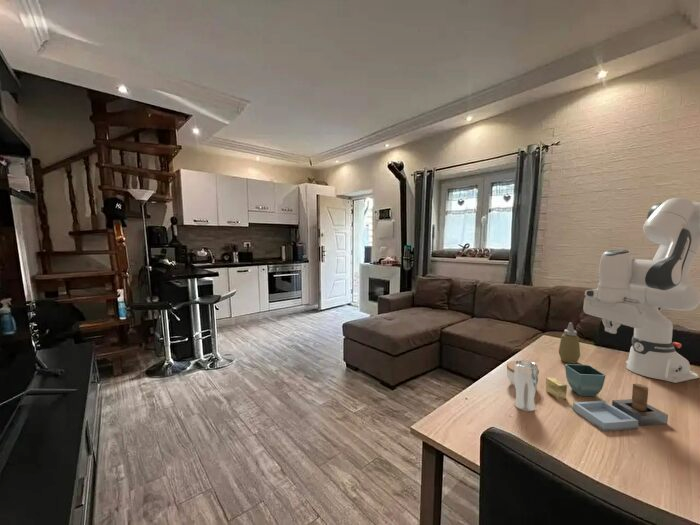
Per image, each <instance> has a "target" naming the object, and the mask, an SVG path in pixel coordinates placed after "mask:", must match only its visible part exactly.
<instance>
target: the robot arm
mask: <svg viewBox="0 0 700 525" xmlns="http://www.w3.org/2000/svg"><path fill="white" fill-rule="evenodd" d="M648 210H649V211H648V213H647V215H646V216H647V217H646V218H647V219H646V220H645V222H644V223H643V227H642V232H643V235H644V236H645V237H646V239H647V240H648V241H650V242H653V243H654V244H656V245H659V246H658V248H657V251H656V253H655V255H654V257H653V258H652V259H641V258H640V259H639V258H635V257H633V256H632V254H631V251H629V250H626V249H611V250H607V251H604V252H602V254H601V256H600V261H599V265H598V276H599V280H598V283H597V288H593V289H586V290H585V291H584V296H585V297H584V299H583V306H582V307H583V312H584V314H586V315H589V316H593V317H597V318H599V319H601V322H602V324H603V326H604V332H606V333H609V334H614V335H616V334H617V333H618V328H620V326H622V325H623V326H626V327H630V328H633V335H632V337H631V346H630V349H629V354H628V360H626V361H625V364H626V369H628V370H629V371H630V372H632V373H635V374H637V375H639V376H643V377H647V378H650V379H655V380H656V379H657V380H660V381H661V380H662V381H666V382H669V383H673V384H676V383H681V382H686V381H690V380H695V379H699V375H698V373H696V372H694V371H692V370H691V365H690V361H689V360H688V359H687V358H685V357H684V356H683V355H681V354H679V353H678V352H677V351H676V349H680V348H682V343H680V342H676V341H673V340H672V339H673V329H674V328H673V327H674V325H673V323H672V321H671V320H670V319H669V318H667V317H666V316H664V315H663V314H662V313H661V311H660V310H659V308H660V309H665V310H670V311H682V312H683V311H684V312H685V311H693V310H695V309H696V308H698V307H699V305H700V290H699V289H698V288H697V287H696V286H694V285H693V283H692V282H691V280H690V271H691V268H692V266H693V264H694V261H695V260H696V258H697V256H698V253H699V251H700V201H691V200H690V199H688V198H684V197H673V198H669V199H666V200H665V201H663V202H660V203H656V204H654V205H652V206H651V207H650V209H648ZM611 324H612V325H611Z"/></svg>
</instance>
